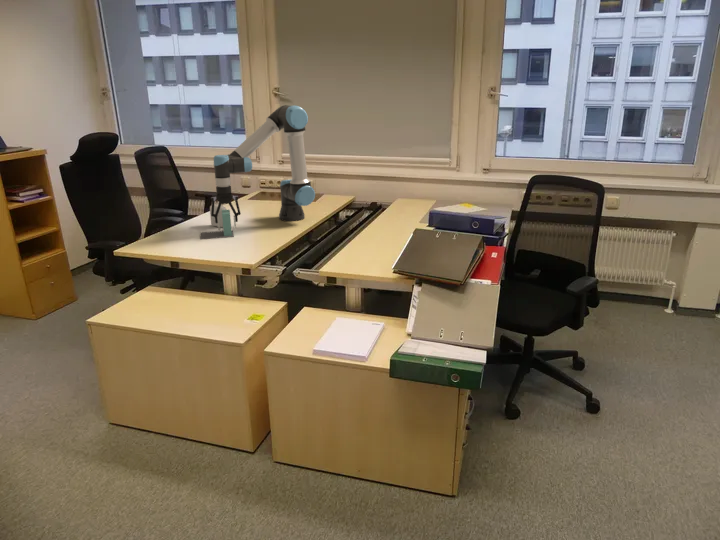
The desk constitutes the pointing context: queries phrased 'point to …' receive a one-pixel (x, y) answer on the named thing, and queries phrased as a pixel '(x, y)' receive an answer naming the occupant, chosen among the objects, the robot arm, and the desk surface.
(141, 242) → the desk surface
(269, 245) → the desk surface
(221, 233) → the mat
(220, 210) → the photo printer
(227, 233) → the block
